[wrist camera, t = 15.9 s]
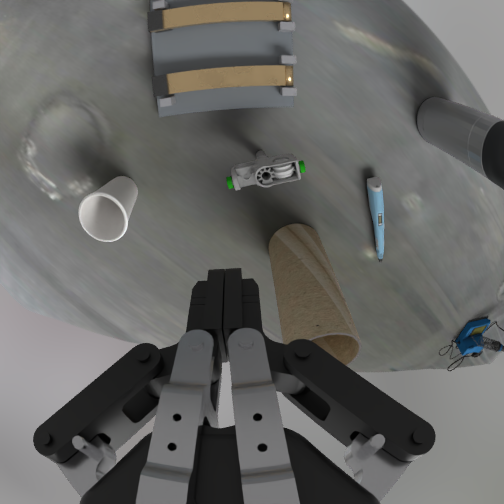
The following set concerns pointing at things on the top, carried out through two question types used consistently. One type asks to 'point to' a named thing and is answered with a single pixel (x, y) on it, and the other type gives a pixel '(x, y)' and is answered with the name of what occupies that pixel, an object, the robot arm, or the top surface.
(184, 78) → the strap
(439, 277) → the top surface
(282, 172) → the mechanical component
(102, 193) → the dixie cup
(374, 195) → the 3d printing pen
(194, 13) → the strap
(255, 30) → the mount plate
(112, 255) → the top surface
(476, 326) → the soldering iron
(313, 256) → the tube
